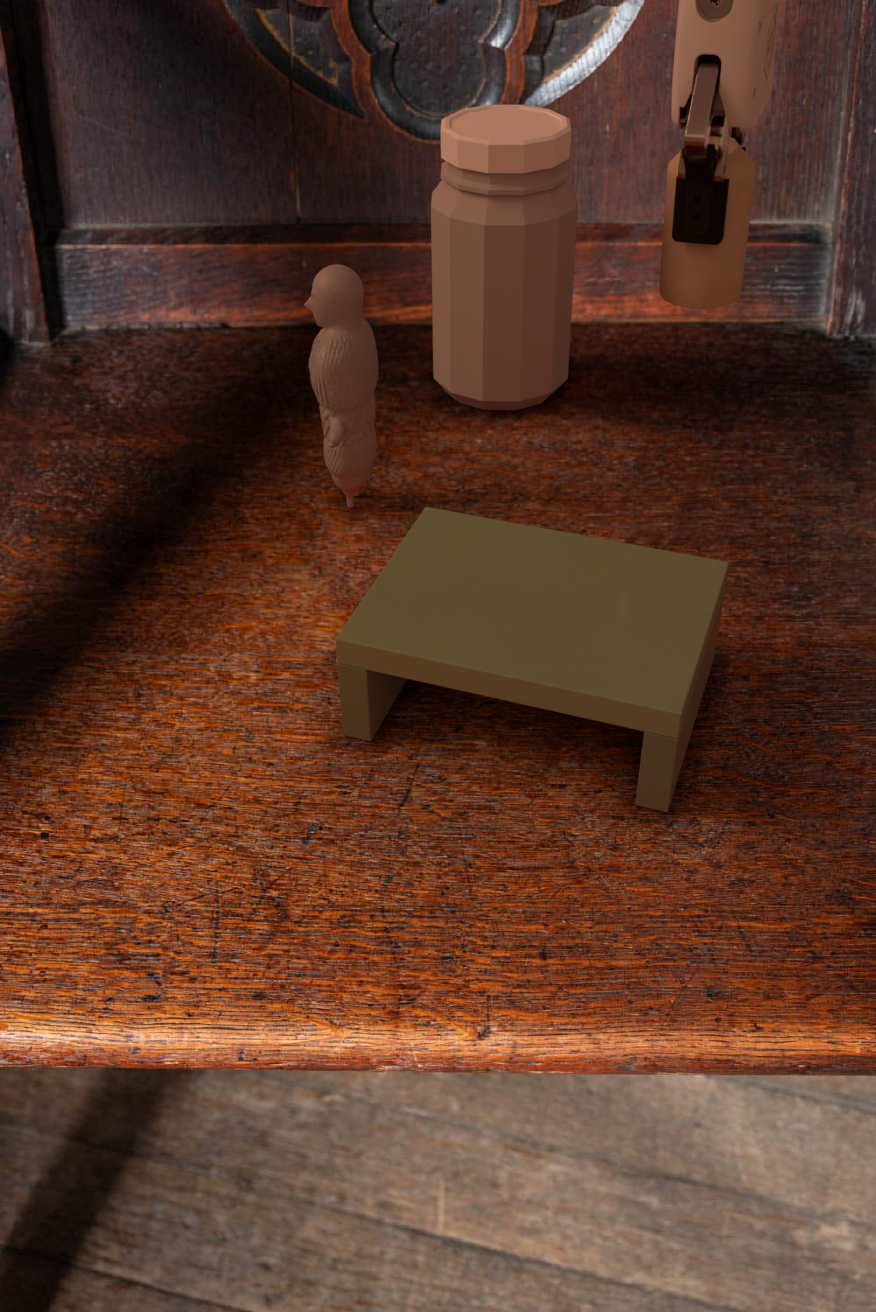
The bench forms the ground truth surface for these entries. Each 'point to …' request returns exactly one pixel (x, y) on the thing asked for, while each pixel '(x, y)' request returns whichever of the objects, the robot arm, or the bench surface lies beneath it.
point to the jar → (503, 256)
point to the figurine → (344, 377)
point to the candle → (702, 268)
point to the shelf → (540, 631)
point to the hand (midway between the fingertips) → (706, 221)
